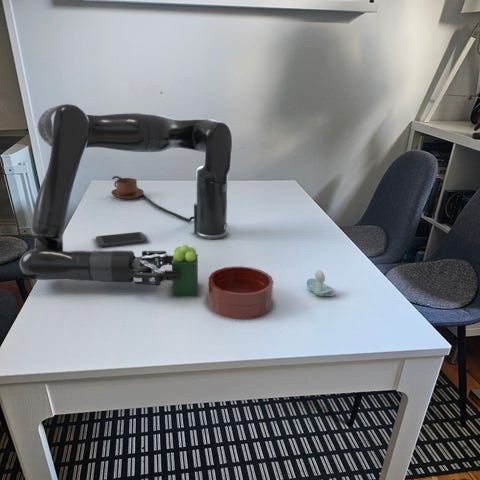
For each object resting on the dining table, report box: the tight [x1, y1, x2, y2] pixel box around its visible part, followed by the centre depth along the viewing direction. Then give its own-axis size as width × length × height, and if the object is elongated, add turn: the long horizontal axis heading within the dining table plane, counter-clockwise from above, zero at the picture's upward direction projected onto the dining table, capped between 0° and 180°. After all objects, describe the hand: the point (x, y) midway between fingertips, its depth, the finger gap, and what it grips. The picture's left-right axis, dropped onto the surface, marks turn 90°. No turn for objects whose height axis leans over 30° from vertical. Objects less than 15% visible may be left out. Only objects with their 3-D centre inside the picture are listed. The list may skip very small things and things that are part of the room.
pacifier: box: [306, 269, 336, 297], centre depth 111 cm, size 7×6×6 cm
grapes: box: [171, 244, 199, 297], centre depth 108 cm, size 6×6×12 cm
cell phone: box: [95, 231, 148, 248], centre depth 136 cm, size 7×14×1 cm, turn 113°
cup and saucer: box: [110, 177, 144, 200], centre depth 174 cm, size 12×12×6 cm
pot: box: [207, 265, 274, 320], centre depth 105 cm, size 15×15×6 cm
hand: (182, 267), depth 108 cm, fingers open, 8 cm apart
